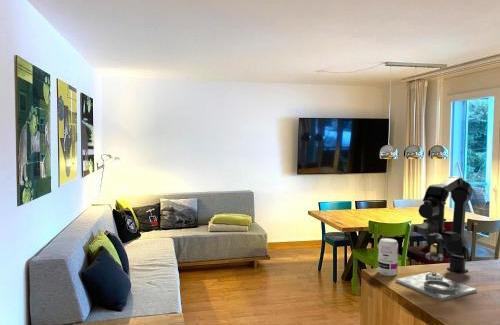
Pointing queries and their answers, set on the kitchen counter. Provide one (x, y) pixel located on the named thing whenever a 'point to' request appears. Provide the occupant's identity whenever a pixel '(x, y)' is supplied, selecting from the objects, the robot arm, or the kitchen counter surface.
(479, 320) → the kitchen counter surface
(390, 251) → the supplement can
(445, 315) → the kitchen counter surface
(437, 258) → the gear
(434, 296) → the carrier
